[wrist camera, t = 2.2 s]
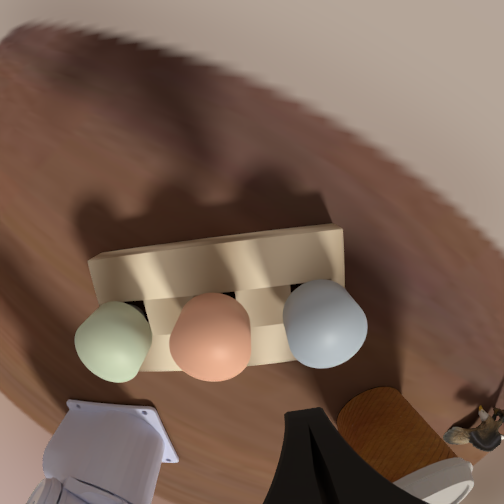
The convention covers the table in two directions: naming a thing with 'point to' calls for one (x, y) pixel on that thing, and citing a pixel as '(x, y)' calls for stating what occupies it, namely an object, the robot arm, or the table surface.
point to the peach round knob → (211, 337)
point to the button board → (221, 281)
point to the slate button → (323, 324)
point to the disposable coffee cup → (404, 447)
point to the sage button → (114, 341)
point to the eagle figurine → (479, 432)
